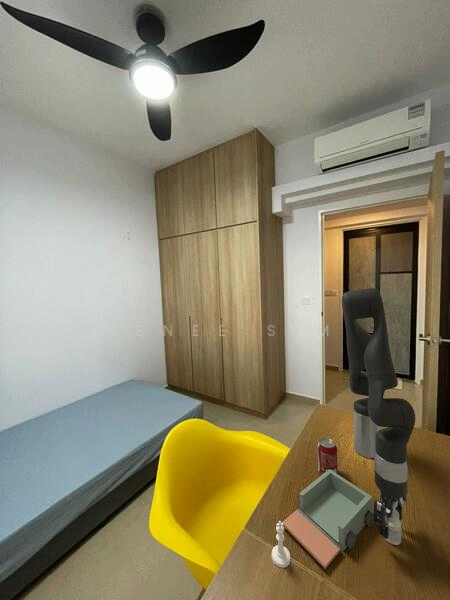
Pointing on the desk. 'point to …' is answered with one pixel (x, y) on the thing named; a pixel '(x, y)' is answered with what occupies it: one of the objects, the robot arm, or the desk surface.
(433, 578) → the desk surface
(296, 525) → the panel
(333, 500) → the truck bed
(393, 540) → the pill bottle
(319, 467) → the soda can
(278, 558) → the chess piece
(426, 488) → the desk surface
